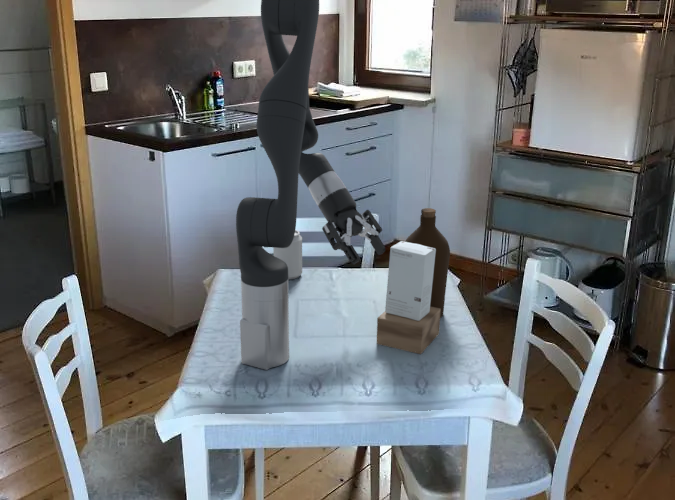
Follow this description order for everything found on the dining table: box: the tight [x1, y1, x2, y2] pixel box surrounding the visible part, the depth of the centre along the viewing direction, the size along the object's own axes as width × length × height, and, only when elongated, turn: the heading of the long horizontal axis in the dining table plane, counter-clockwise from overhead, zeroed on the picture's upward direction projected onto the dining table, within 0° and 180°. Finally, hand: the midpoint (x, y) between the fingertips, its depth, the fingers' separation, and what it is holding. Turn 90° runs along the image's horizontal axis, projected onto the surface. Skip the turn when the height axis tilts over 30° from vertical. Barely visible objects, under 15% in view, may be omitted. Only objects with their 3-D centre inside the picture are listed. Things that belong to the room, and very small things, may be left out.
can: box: [272, 229, 303, 280], centre depth 191 cm, size 8×8×12 cm
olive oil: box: [404, 207, 451, 319], centre depth 166 cm, size 11×11×25 cm
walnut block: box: [376, 306, 441, 355], centre depth 157 cm, size 11×10×6 cm
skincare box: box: [384, 240, 436, 321], centre depth 154 cm, size 8×6×15 cm
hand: (370, 257), depth 160 cm, fingers open, 8 cm apart
